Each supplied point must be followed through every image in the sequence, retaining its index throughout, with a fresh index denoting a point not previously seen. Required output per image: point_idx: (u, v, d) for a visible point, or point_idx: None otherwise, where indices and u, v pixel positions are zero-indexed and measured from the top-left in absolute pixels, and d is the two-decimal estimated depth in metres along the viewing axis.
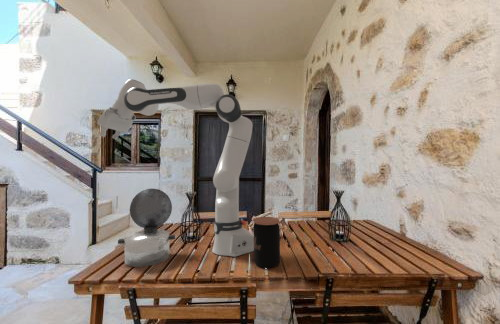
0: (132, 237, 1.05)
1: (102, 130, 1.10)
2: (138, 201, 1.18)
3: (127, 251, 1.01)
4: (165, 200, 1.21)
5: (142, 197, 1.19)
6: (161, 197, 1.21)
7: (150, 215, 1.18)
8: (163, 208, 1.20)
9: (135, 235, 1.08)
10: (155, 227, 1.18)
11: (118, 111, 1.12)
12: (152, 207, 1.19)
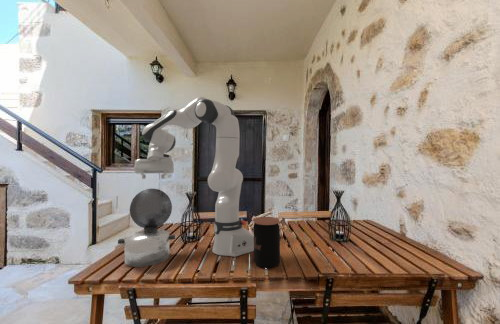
0: (132, 237, 1.05)
1: (141, 174, 1.30)
2: (138, 201, 1.18)
3: (127, 251, 1.01)
4: (165, 200, 1.21)
5: (142, 197, 1.19)
6: (161, 197, 1.21)
7: (150, 215, 1.18)
8: (163, 208, 1.20)
9: (135, 235, 1.08)
10: (155, 227, 1.18)
11: (147, 158, 1.37)
12: (152, 207, 1.19)
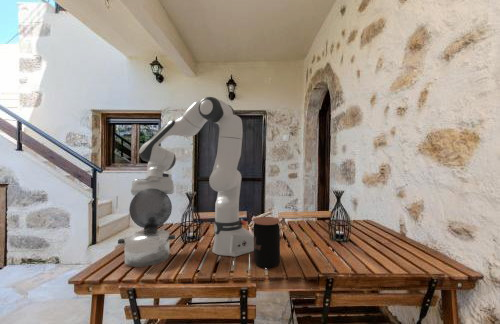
0: (132, 237, 1.05)
1: None
2: (138, 201, 1.17)
3: (127, 251, 1.01)
4: (165, 200, 1.20)
5: (142, 197, 1.18)
6: (161, 197, 1.20)
7: (150, 215, 1.18)
8: (163, 208, 1.19)
9: (135, 235, 1.08)
10: (155, 227, 1.17)
11: (145, 178, 1.27)
12: (152, 207, 1.18)
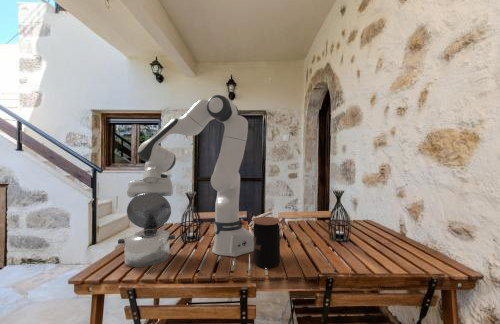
0: (132, 237, 1.05)
1: None
2: (135, 205, 1.11)
3: (127, 251, 1.01)
4: (163, 204, 1.14)
5: (138, 202, 1.10)
6: (159, 202, 1.13)
7: (149, 218, 1.15)
8: (162, 212, 1.15)
9: (135, 235, 1.08)
10: (155, 227, 1.17)
11: None
12: (150, 211, 1.13)
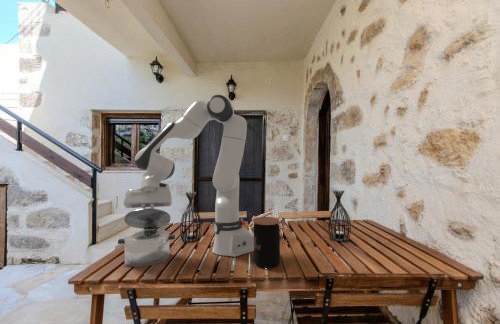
0: (132, 237, 1.05)
1: None
2: (132, 217, 1.06)
3: (127, 251, 1.01)
4: (162, 216, 1.09)
5: (136, 215, 1.05)
6: (157, 214, 1.07)
7: (148, 223, 1.12)
8: (161, 219, 1.11)
9: (135, 235, 1.08)
10: (155, 228, 1.17)
11: (140, 188, 1.15)
12: (149, 219, 1.10)
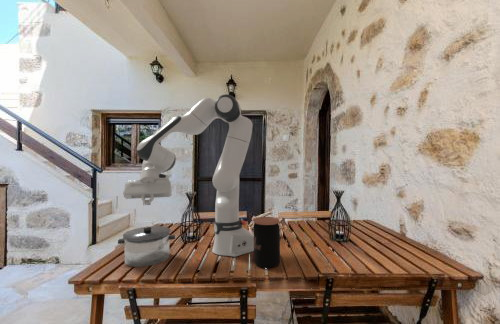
0: None
1: (142, 200, 1.08)
2: None
3: (127, 251, 1.01)
4: None
5: None
6: None
7: None
8: None
9: None
10: None
11: None
12: None
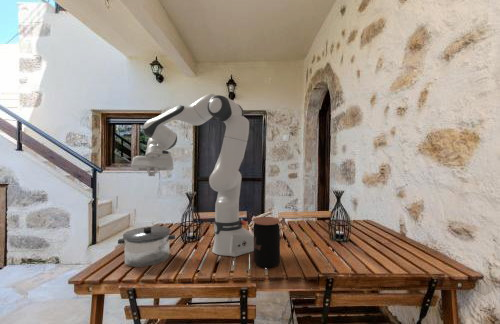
0: None
1: None
2: None
3: (127, 251, 1.01)
4: None
5: None
6: None
7: None
8: None
9: None
10: None
11: (145, 155, 1.29)
12: None
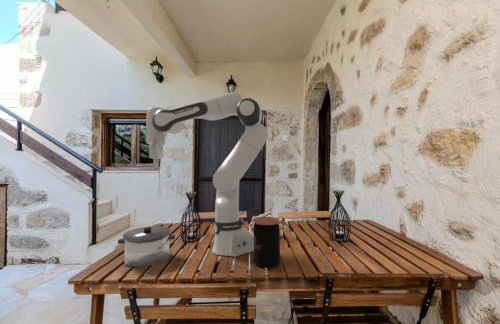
0: None
1: (155, 162, 1.22)
2: None
3: (127, 251, 1.01)
4: None
5: None
6: None
7: None
8: None
9: None
10: None
11: (157, 140, 1.20)
12: None
